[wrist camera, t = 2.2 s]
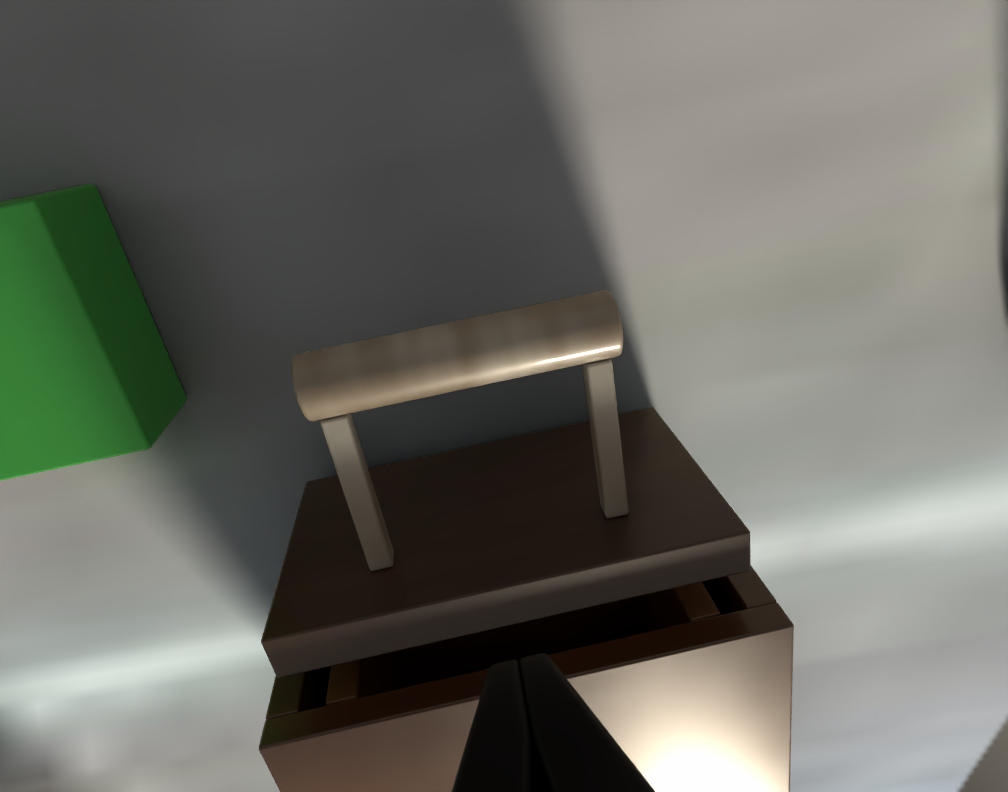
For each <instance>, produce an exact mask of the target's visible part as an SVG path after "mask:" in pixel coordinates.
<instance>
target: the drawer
mask: <svg viewBox="0 0 1008 792" xmlns="http://www.w3.org/2000/svg"><path fill="white" fill-rule="evenodd" d="M622 349H623V330H622V323H621V318H620V314H619V311H618V307H617V304H616V302H615V300H614V298H613V296H612V294H611V293H610V292H609V291H606V290H602V291H597V292H592V293H587V294H583V295H578V296H573V297H568V298H563V299H559V300H554V301H549V302H544V303H539V304H535V305H530V306H525V307H520V308H515V309H511V310H506V311H501V312H496V313H491V314H486V315H482V316H477V317H472V318H467V319H462V320H458V321H453V322H448V323H443V324H438V325H434V326H429V327H424V328H419V329H414V330H410V331H405V332H400V333H395V334H390V335H386V336H381V337H376V338H371V339H366V340H361V341H357V342H352V343H347V344H342V345H337V346H333V347H328V348H323V349H318V350H313V351H309V352H304V353H299V354H297V355H295V356H294V357H293V359H292V366H291V375H292V383H293V388H294V392H295V396H296V399H297V402H298V405H299V407H300V409H301V411H302V413H303V414H304V416H305V417H306V418H307V419H308V420H310V421H316V420H321V419H322V420H321V426H322V429H323V432H324V435H325V438H326V441H327V444H328V447H329V450H330V453H331V456H332V459H333V462H334V465H335V468H336V471H337V474H338V475H336V476H331V477H326V478H322V479H317V480H312V481H308V482H306V485H305V489H304V492H303V496H302V499H301V503H300V506H299V510H298V513H297V517H296V520H295V524H294V527H293V531H292V534H291V538H290V541H289V545H288V548H287V552H286V555H285V559H284V562H283V566H282V570H281V573H280V577H279V580H278V584H277V587H276V591H275V594H274V598H273V601H272V605H271V608H270V612H269V615H268V619H267V622H266V626H265V629H264V633H263V636H262V640H261V643H262V645H263V647H264V650H265V652H266V654H267V656H268V658H269V661H270V663H271V665H272V667H273V669H274V672H275V674H276V676H277V677H278V678H281V677H286V676H290V675H294V674H299V673H303V672H308V671H312V670H316V669H321V668H325V667H330V666H331V670H330V677H329V684H328V690H327V697H326V706H328V705H332V704H336V703H341V702H345V701H349V700H354V699H358V698H362V697H367V696H371V695H375V694H380V693H384V692H389V691H393V690H397V689H402V688H406V687H410V686H415V685H419V684H423V683H428V682H432V681H436V680H441V679H445V678H449V677H454V676H458V675H462V674H467V673H471V672H476V671H480V670H484V669H489V668H490V667H491V666H492V665H493V664H496V663H501V662H505V661H509V660H516V661H518V662H519V661H520V659H521V658H523V657H527V656H531V655H535V654H540V653H545V654H547V655H550V654H554V653H558V652H563V651H567V650H571V649H576V648H580V647H584V646H589V645H593V644H597V643H602V642H606V641H610V640H615V639H619V638H623V637H628V636H632V635H637V634H641V633H645V632H650V631H654V630H658V629H663V628H667V627H671V626H676V625H680V624H684V623H689V622H693V621H697V620H702V619H706V618H711V617H715V616H719V615H720V612H719V610H718V608H717V607H716V605H715V603H714V602H713V600H712V598H711V597H710V595H709V593H708V592H707V590H706V588H705V587H704V585H703V583H702V582H703V581H708V580H712V579H716V578H721V577H725V576H730V575H734V574H738V573H743V572H747V571H750V531H749V530H748V529H747V527H746V526H745V525H744V523H743V522H742V521H741V520H740V518H739V517H738V516H737V514H736V513H735V512H734V511H733V509H732V508H731V507H730V505H729V504H728V503H727V502H726V500H725V499H724V498H723V496H722V495H721V494H720V493H719V491H718V490H717V489H716V487H715V486H714V485H713V484H712V482H711V481H710V480H709V478H708V477H707V476H706V475H705V473H704V472H703V471H702V469H701V468H700V467H699V466H698V464H697V463H696V462H695V460H694V459H693V458H692V457H691V455H690V454H689V453H688V451H687V450H686V449H685V448H684V446H683V445H682V444H681V442H680V441H679V440H678V439H677V437H676V436H675V435H674V433H673V432H672V431H671V430H670V428H669V427H668V426H667V424H666V423H665V422H664V421H663V419H662V418H661V417H660V415H659V414H658V413H657V412H656V410H655V409H654V408H653V407H651V408H646V409H641V410H637V411H632V412H627V413H623V414H618V411H617V402H616V393H615V384H614V375H613V366H612V361H611V360H610V358H613V357H617V356H619V355H620V354H621V353H622ZM580 364H582V369H583V376H584V384H585V391H586V399H587V406H588V414H589V421H586V422H581V423H576V424H572V425H567V426H563V427H558V428H553V429H549V430H544V431H539V432H535V433H530V434H525V435H521V436H516V437H512V438H507V439H502V440H498V441H493V442H488V443H484V444H479V445H475V446H470V447H465V448H461V449H456V450H451V451H447V452H442V453H437V454H433V455H428V456H424V457H419V458H414V459H410V460H405V461H400V462H396V463H391V464H386V465H382V466H377V467H373V468H368V467H367V464H366V461H365V457H364V454H363V451H362V448H361V445H360V441H359V438H358V435H357V432H356V428H355V425H354V422H353V419H352V416H351V413H354V412H359V411H364V410H368V409H373V408H378V407H382V406H387V405H392V404H397V403H401V402H406V401H411V400H415V399H420V398H425V397H429V396H434V395H439V394H444V393H448V392H453V391H458V390H462V389H467V388H472V387H477V386H481V385H486V384H491V383H495V382H500V381H505V380H510V379H514V378H519V377H524V376H528V375H533V374H538V373H543V372H547V371H552V370H557V369H561V368H566V367H571V366H575V365H580Z"/></svg>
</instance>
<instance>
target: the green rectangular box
mask: <svg viewBox="0 0 1008 792" xmlns="http://www.w3.org/2000/svg"><path fill="white" fill-rule="evenodd" d="M186 401H187V397H186V395H185V393H184V390H183V388H182V386H181V383H180V381H179V379H178V376H177V374H176V372H175V369H174V367H173V365H172V362H171V360H170V358H169V355H168V353H167V351H166V348H165V346H164V344H163V341H162V339H161V337H160V334H159V332H158V330H157V327H156V325H155V323H154V320H153V318H152V316H151V313H150V311H149V309H148V306H147V304H146V302H145V299H144V297H143V295H142V292H141V290H140V288H139V285H138V283H137V281H136V278H135V276H134V274H133V271H132V269H131V267H130V264H129V262H128V260H127V257H126V255H125V253H124V250H123V248H122V246H121V243H120V241H119V239H118V236H117V234H116V232H115V229H114V227H113V225H112V222H111V220H110V218H109V215H108V213H107V211H106V208H105V206H104V204H103V201H102V199H101V197H100V194H99V192H98V190H97V187H96V186H95V185H94V184H87V185H82V186H76V187H71V188H66V189H61V190H56V191H51V192H46V193H41V194H35V195H30V196H25V197H20V198H15V199H10V200H5V201H0V480H5V479H10V478H14V477H19V476H24V475H28V474H33V473H38V472H43V471H47V470H52V469H57V468H61V467H66V466H71V465H76V464H80V463H85V462H90V461H95V460H99V459H104V458H109V457H113V456H118V455H123V454H128V453H132V452H137V451H142V450H146V449H149V448H151V446H152V445H153V444H154V443H155V441H156V440H157V439H158V437H159V436H160V435H161V433H162V432H163V431H164V429H165V428H166V427H167V425H168V424H169V423H170V422H171V420H172V419H173V418H174V416H175V415H176V414H177V412H178V411H179V410H180V408H181V407H182V406H183V405H184V403H185V402H186Z"/></svg>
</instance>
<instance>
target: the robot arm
mask: <svg viewBox="0 0 1008 792" xmlns="http://www.w3.org/2000/svg"><path fill="white" fill-rule="evenodd" d="M451 792H655V790H654V789H653V788H652V786H651V785H650V784H649V783H648V781H647V780H646V779H645V778H644V776H643V775H642V774H641V772H640V771H639V770H638V769H637V767H636V766H635V765H634V764H633V762H632V761H631V760H630V758H629V757H628V756H627V755H626V753H625V752H624V751H623V750H622V748H621V747H620V746H619V744H618V743H617V742H616V741H615V739H614V738H613V737H612V736H611V734H610V733H609V732H608V731H607V729H606V728H605V727H604V725H603V724H602V723H601V722H600V720H599V719H598V718H597V717H596V715H595V714H594V713H593V711H592V710H591V709H590V708H589V706H588V705H587V704H586V703H585V701H584V700H583V699H582V697H581V696H580V695H579V694H578V692H577V691H576V690H575V689H574V687H573V686H572V685H571V683H570V682H569V681H568V680H567V678H566V677H565V676H564V675H563V673H562V672H561V671H560V669H559V668H558V667H557V666H556V664H555V663H554V662H553V661H552V659H551V658H550V657H549V656H548V655H547V654H545V653H540V654H535V655H531V656H527V657H523V658H521V659H520V661H519V663H518V661H516V660H509V661H505V662H501V663H496V664H493V665H492V666H491V667H490V668H489V670H488V673H487V676H486V680H485V683H484V686H483V689H482V693H481V696H480V699H479V703H478V706H477V709H476V712H475V716H474V719H473V722H472V726H471V729H470V732H469V735H468V739H467V742H466V745H465V749H464V752H463V755H462V758H461V762H460V765H459V768H458V772H457V775H456V778H455V781H454V785H453V788H452V791H451Z"/></svg>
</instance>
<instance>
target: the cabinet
mask: <svg viewBox="0 0 1008 792" xmlns="http://www.w3.org/2000/svg"><path fill="white" fill-rule="evenodd" d="M702 583H703V585H704V587H705V588H706V590H707V592H708V593H709V595H710V597H711V598H712V600H713V602H714V603H715V605H716V607H717V608H718V610H719V612H720V615H719V616H715V617H711V618H706V619H702V620H697V621H693V622H689V623H684V624H680V625H676V626H671V627H667V628H663V629H658V630H654V631H650V632H645V633H641V634H637V635H632V636H628V637H623V638H619V639H615V640H610V641H606V642H602V643H597V644H593V645H589V646H584V647H580V648H576V649H571V650H567V651H563V652H558V653H554V654H550V655H548V656H549V657H550V658H551V659H552V661H553V662H554V663H555V664H556V666H557V667H558V668H559V669H560V671H561V672H562V673H563V675H564V676H565V677H566V678H567V680H568V681H569V682H570V683H571V685H572V686H573V687H574V689H575V690H576V691H577V692H578V694H579V695H580V696H581V697H582V699H583V700H584V701H585V703H586V704H587V705H588V706H589V708H590V709H591V710H592V711H593V713H594V714H595V715H596V717H597V718H598V719H599V720H600V722H601V723H602V724H603V725H604V727H605V728H606V729H607V731H608V732H609V733H610V734H611V736H612V737H613V738H614V739H615V741H616V742H617V743H618V744H619V746H620V747H621V748H622V750H623V751H624V752H625V753H626V755H627V756H628V757H629V758H630V760H631V761H632V762H633V764H634V765H635V766H636V767H637V769H638V770H639V771H640V772H641V774H642V775H643V776H644V778H645V779H646V780H647V781H648V783H649V784H650V785H651V786H652V788H653V789H654V790H655V792H790V756H791V714H792V671H793V629H794V626H793V623H792V622H791V621H790V619H789V618H788V616H787V615H786V614H785V612H784V611H783V609H782V608H781V607H780V605H779V604H778V603H776V600H775V598H774V597H773V595H772V594H771V593H770V591H769V590H768V589H767V587H766V586H765V584H764V583H763V582H762V580H761V579H760V577H759V576H758V575H757V573H756V572H755V571H754V569H753V568H752V566H751V565H750V571H747V572H743V573H738V574H734V575H730V576H725V577H721V578H716V579H712V580H708V581H703V582H702ZM518 663H519V662H518ZM330 670H331V666H330V667H325V668H321V669H316V670H312V671H308V672H303V673H299V674H294V675H290V676H286V677H281V678H278V677H277V676H276V677H275V681H274V685H273V690H272V694H271V698H270V702H269V706H268V710H267V714H266V721H265V724H264V728H263V732H262V736H261V741H260V745H259V751H260V753H261V755H262V756H263V758H264V760H265V762H266V764H267V766H268V768H269V770H270V772H271V774H272V776H273V778H274V780H275V782H276V784H277V786H278V788H279V790H280V792H451V791H452V788H453V785H454V781H455V778H456V775H457V772H458V768H459V765H460V762H461V758H462V755H463V752H464V749H465V745H466V742H467V739H468V735H469V732H470V729H471V726H472V722H473V719H474V716H475V712H476V709H477V706H478V703H479V699H480V696H481V693H482V689H483V686H484V683H485V680H486V676H487V673H488V670H489V669H484V670H480V671H476V672H471V673H467V674H462V675H458V676H454V677H449V678H445V679H441V680H436V681H432V682H428V683H423V684H419V685H415V686H410V687H406V688H402V689H397V690H393V691H389V692H384V693H380V694H375V695H371V696H367V697H362V698H358V699H354V700H349V701H345V702H341V703H336V704H332V705H328V706H326V697H327V690H328V684H329V677H330Z"/></svg>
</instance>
